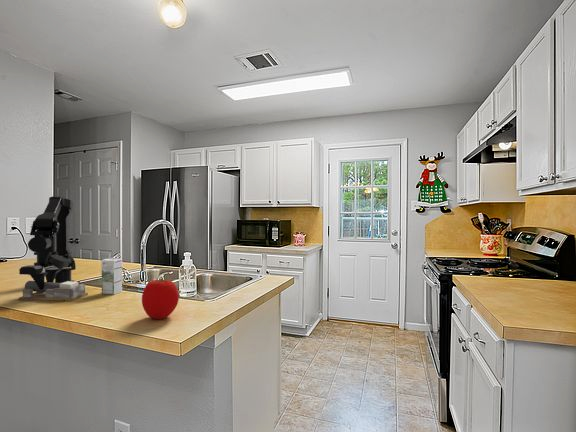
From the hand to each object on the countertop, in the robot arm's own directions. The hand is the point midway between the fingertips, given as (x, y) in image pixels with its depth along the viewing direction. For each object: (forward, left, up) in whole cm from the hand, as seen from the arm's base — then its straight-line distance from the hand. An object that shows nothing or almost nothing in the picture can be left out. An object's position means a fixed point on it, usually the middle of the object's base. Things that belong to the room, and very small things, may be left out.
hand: (45, 288), depth 127 cm
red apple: (+22, +55, -4) cm, 59 cm away
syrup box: (-8, +22, -4) cm, 24 cm away
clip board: (0, +4, -4) cm, 5 cm away
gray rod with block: (0, +2, -2) cm, 3 cm away
